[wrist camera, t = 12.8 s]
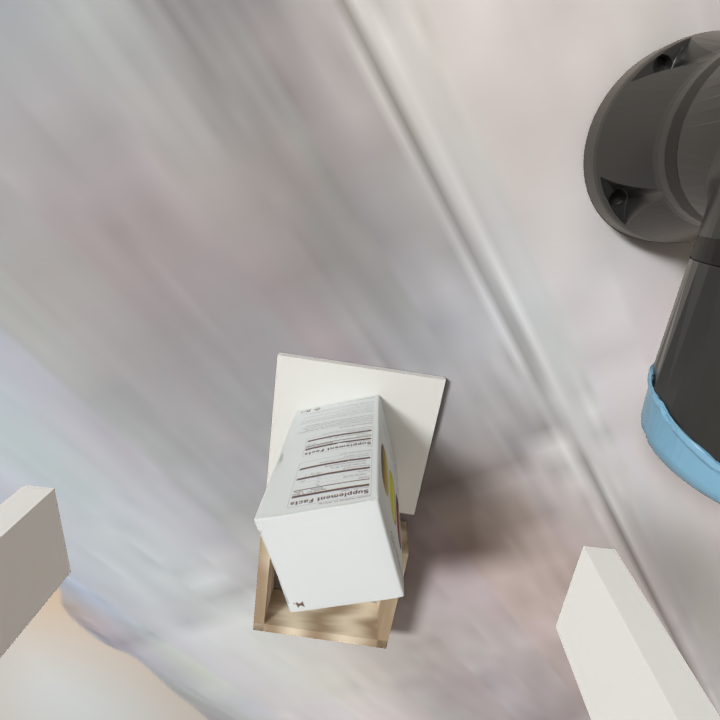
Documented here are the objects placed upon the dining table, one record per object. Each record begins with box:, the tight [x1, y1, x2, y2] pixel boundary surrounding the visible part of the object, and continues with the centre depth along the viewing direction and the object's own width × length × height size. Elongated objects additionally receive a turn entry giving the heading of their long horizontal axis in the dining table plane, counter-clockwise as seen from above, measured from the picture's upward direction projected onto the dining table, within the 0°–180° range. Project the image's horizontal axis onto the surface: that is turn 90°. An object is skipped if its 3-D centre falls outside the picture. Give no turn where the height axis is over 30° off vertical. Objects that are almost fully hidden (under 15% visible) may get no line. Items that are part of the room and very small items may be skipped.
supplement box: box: [254, 395, 404, 612], centre depth 40 cm, size 10×9×17 cm
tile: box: [267, 352, 446, 515], centre depth 48 cm, size 17×17×1 cm
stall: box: [253, 521, 409, 648], centre depth 53 cm, size 16×15×5 cm
